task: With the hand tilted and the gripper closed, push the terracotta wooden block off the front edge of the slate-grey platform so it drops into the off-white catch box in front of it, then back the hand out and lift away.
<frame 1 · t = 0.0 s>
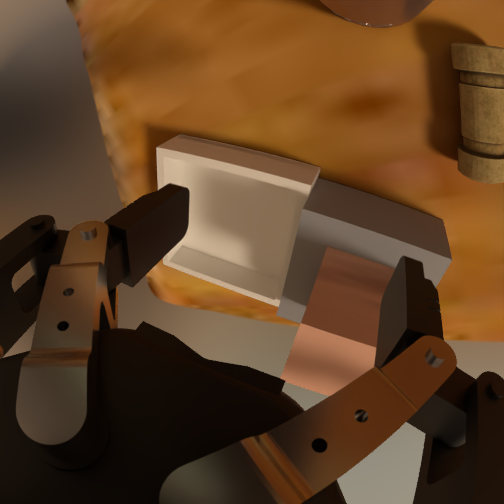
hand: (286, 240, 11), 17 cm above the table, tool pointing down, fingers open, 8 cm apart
catch box: (238, 211, 33), on the table
grey platform: (363, 251, 30), on the table
terracotta block: (356, 292, 26), point 6 cm above the table, touching grey platform
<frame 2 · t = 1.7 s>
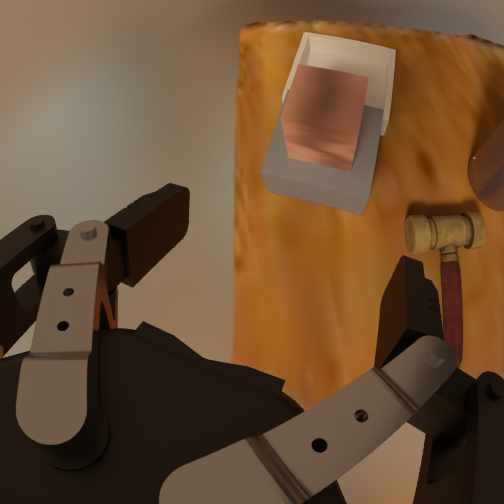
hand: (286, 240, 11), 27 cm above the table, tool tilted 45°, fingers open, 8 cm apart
gavel: (446, 301, 35), on the table
catch box: (342, 86, 42), on the table
grey platform: (325, 160, 40), on the table
terracotta block: (325, 137, 34), point 6 cm above the table, touching grey platform
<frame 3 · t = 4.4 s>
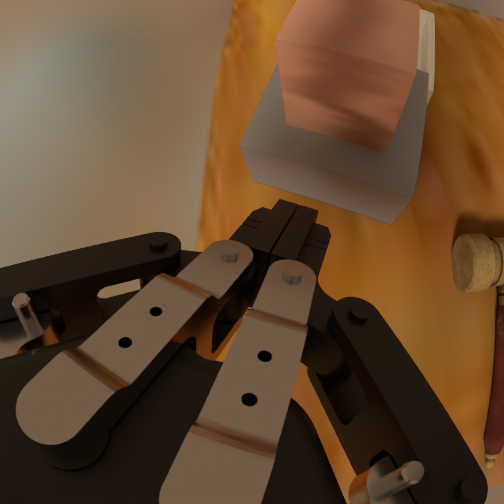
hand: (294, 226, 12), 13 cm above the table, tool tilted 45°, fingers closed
gavel: (496, 357, 21), on the table
catch box: (365, 51, 29), on the table
grey platform: (340, 141, 27), on the table
terracotta block: (346, 100, 21), point 6 cm above the table, touching grey platform
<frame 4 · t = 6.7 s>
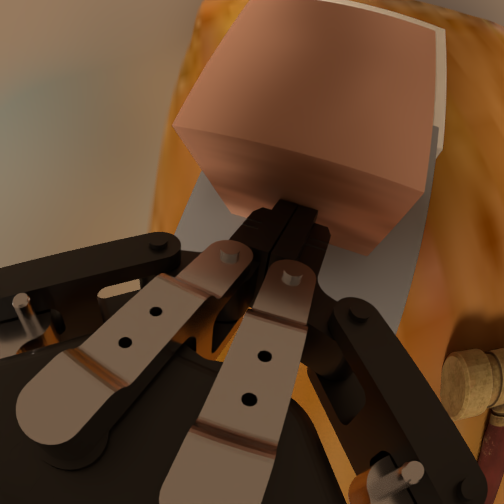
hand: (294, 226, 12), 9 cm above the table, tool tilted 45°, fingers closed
gavel: (478, 465, 16), on the table
catch box: (354, 81, 24), on the table
grey platform: (313, 217, 22), on the table
terracotta block: (318, 171, 16), point 6 cm above the table, touching grey platform, gripper
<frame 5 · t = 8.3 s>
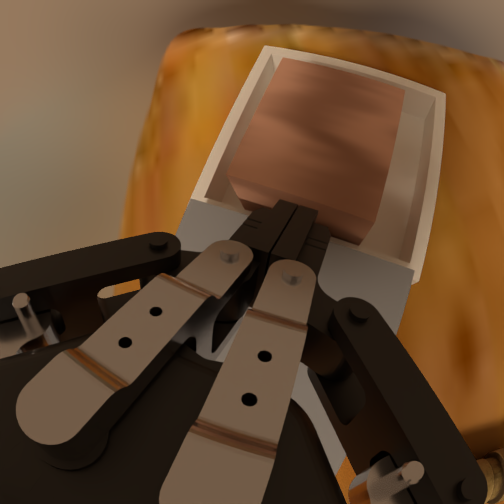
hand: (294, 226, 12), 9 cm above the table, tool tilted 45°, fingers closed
catch box: (330, 165, 22), on the table
grey platform: (270, 342, 21), on the table
terracotta block: (299, 220, 17), point 4 cm above the table, tilted 90°, touching catch box
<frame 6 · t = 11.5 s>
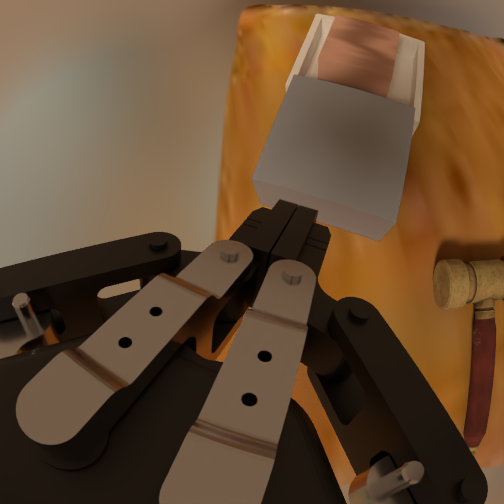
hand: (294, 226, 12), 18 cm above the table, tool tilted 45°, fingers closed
gavel: (474, 363, 26), on the table
catch box: (359, 80, 33), on the table
grey platform: (336, 168, 31), on the table
terracotta block: (351, 90, 28), point 4 cm above the table, tilted 90°, touching catch box
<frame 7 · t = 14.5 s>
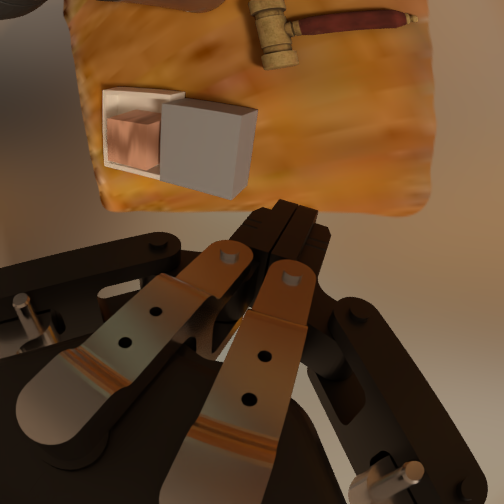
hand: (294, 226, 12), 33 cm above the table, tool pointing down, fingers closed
gavel: (338, 24, 33), on the table
catch box: (147, 128, 50), on the table
grey platform: (215, 140, 47), on the table
terracotta block: (160, 142, 45), point 4 cm above the table, tilted 90°, touching catch box
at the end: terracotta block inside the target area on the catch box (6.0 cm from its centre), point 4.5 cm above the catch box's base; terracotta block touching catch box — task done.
